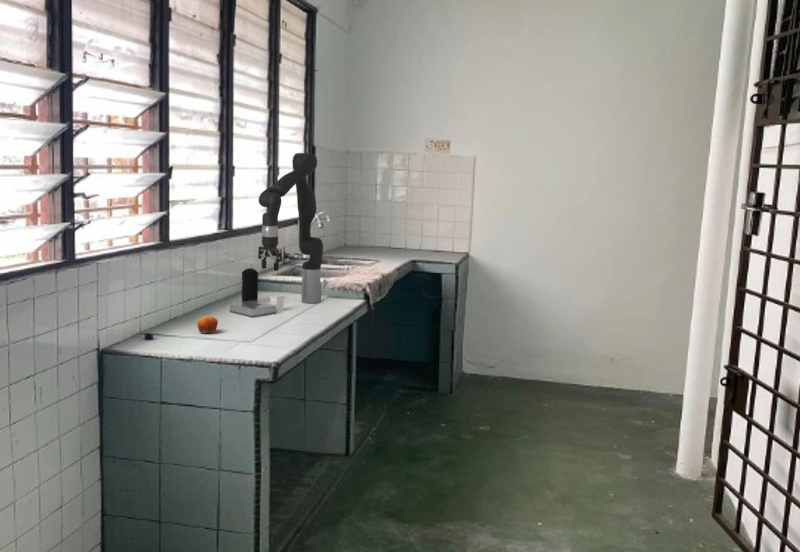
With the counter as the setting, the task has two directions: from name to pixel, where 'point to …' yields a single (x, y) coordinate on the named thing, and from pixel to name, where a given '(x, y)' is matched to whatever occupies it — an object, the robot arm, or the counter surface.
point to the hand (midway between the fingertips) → (270, 269)
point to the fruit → (207, 324)
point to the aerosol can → (249, 284)
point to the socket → (252, 308)
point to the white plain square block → (277, 302)
